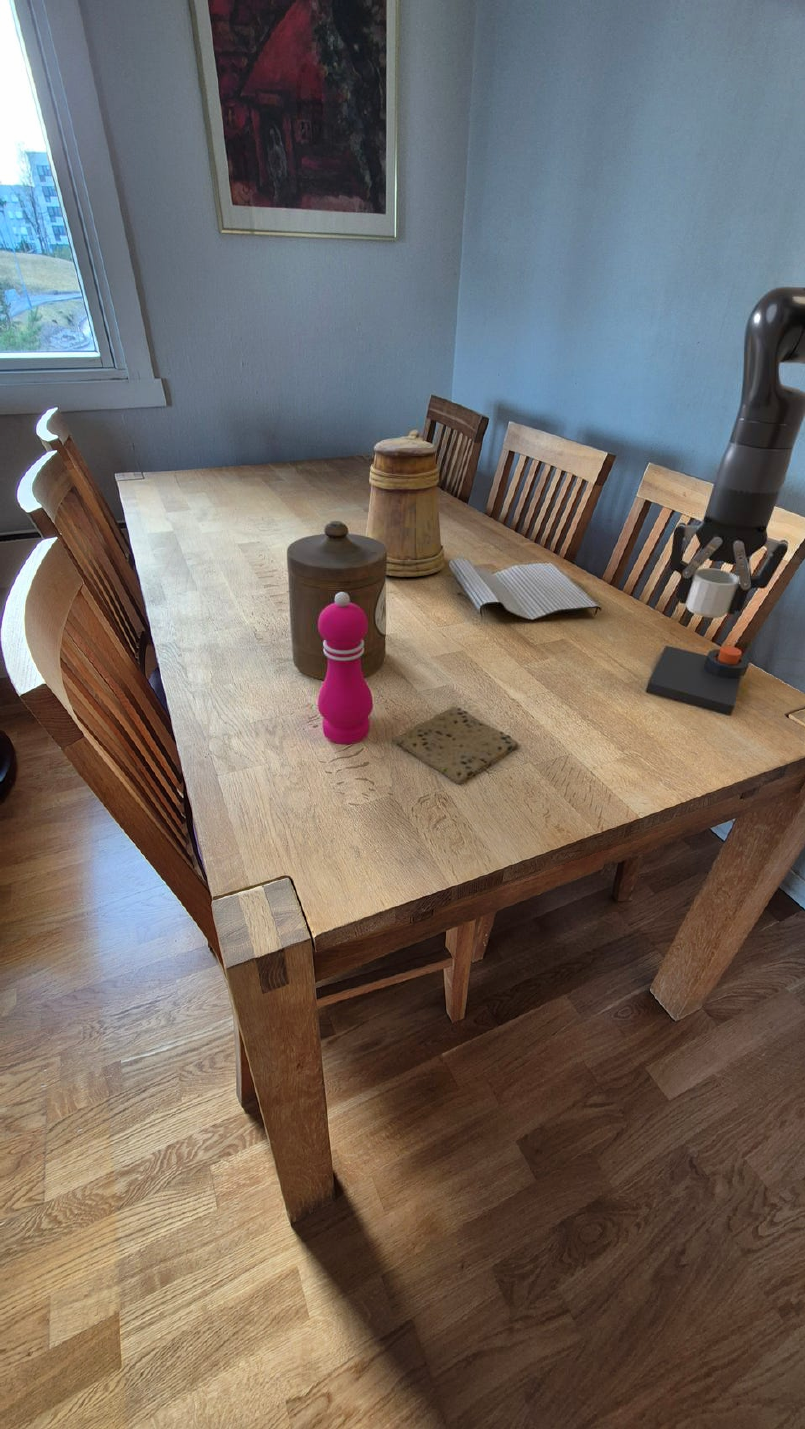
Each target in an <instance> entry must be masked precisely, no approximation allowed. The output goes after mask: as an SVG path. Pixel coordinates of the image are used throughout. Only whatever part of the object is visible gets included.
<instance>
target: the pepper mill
mask: <svg viewBox="0 0 805 1429" xmlns="http://www.w3.org/2000/svg"><path fill="white" fill-rule="evenodd" d="M349 602H350V598H349V596H348V594H347V593H345V592H339V593H338V594H337V595H336V596H335V603H333V604H331V605H328V606H327V607H326V608H325V609H324V610H323V611H322V612H321V614H320V616H319V620H318V629H319V632H320V635H321V636H322V638H323V639H325V640H324V642H323V646H324V650H323V651H324V654H325V655H326V656H327V657H328V670H327V674H326V678H325V680H323V682H322V685H321V687H320V690H319V694H318V698H317V708H318V713H319V714H320V716H321V717H322V718H323V719H322V732H323V735H324V737H325V738H327V739H328V740H329V741H331V742H333V743H336V744H340V745H348V744H354V743H355V744H356V743H357V742H360V741H362V740H364V739H365V738H366V737H368V735H369V733H370V717H369V716H370V715H371V713H372V712H373V708H374V702H373V700H374V699H373V694H372V691H371V688H370V687H369V685H368V683H367V681H366V679H365V677H363V674H362V671H361V663H360V657H361V655H362V654H363V652H364V647H363V646H364V641H363V638H364V636H365V635H366V633H367V629H368V622H367V617H366V615H365V613H364V611H363V610H362V609H361V608H360V607H359V606H357V605H355V604H353V603H349Z"/></svg>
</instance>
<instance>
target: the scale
mask: <svg viewBox="0 0 805 1429" xmlns="http://www.w3.org/2000/svg"><path fill="white" fill-rule="evenodd" d="M720 649H721V648H720ZM720 649H719V648H716V649H715V648H714V649H713V650H710V651H708V653H707V654H702V653H698V652H694V651H691V650H687V649H683V648H679V647H674V646H670V645H665V646H664V648H663V650H662V652H661V655H660V656H659V659H658V661H657V663H656V665H655V667H654V670H653V672H652V674H651V676H650V678H649V680H648V683H647V685H646V689H645V693H647V694H650V695H654V696H657V697H662V698H665V699H669V700H672V701H676V702H680V703H682V704H683V703H684V704H686V705H690V706H694V707H697V708H702V709H706V710H709V711H712V712H716V713H720V714H723V715H727V716H732V713H733V710H734V708H735V704H736V700H737V697H738V691H739V688H740V683H741V679H742V677H744V676H746V673H747V671H748V669H749V665H750V660H749V659H748V658H747V657H746V656H745V655H743V654H741V657H740V659H739V662H738V664H728V663H724V662H722V661H720V660H718V655H719V652H720Z"/></svg>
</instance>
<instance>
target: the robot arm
mask: <svg viewBox="0 0 805 1429" xmlns="http://www.w3.org/2000/svg"><path fill="white" fill-rule="evenodd" d="M781 364H802V365H803V364H805V287H804V286H779V287H775V288H772V289H771V290H769V291H767V293H765V294H764V295H763V296H762V297H761V298H760V299H759V300H758V301H757V303H756V304H755V305H754V307H753V308H752V311H751V312H750V314H749V316H748V319H747V322H746V325H745V330H744V339H743V366H742V370H743V371H742V384H741V395H740V401H739V402H740V403H739V408H738V411H737V414H736V417H735V420H734V424H733V427H732V429H731V430H732V431H731V434H730V437H729V440H728V444H727V446H726V448H725V450H724V452H723V455H722V457H721V460H720V463H719V467H718V469H717V472H716V476H715V480H714V483H713V487H712V490H711V493H710V497H709V499H708V503H707V507H706V510H705V513H704V516H703V519H702V521H700V523H699V524H698V525H695V524H694V525H692V524H691V525H690V524H686V523H685V522H679V523H678V524H677V525H676V527H675V529H674V530H673V534H672V544H671V554H670V561H669V562H670V563H669V569H670V571H672V572H677V573H678V574H679V575H680V581H679V584H678V588H677V591H676V594H675V595H676V599H679V603H680V604H683V605H685V600H686V597H687V594H688V591H689V587H690V584H691V581H692V577H693V574H694V572H695V571H696V570H698V569H700V567H702V565H703V564H704V563H705V562H706V561H707V560H708V561H710V562H723V563H725V564H727V565H733V566H735V565H736V571H737V575H738V577H739V580H740V583H739V586H738V588H737V591H736V594H735V597H734V600H733V602H732V605H731V608H730V611H729V613H728V615H733V616H735V613H736V612H740V611H741V610H742V609H743V608H744V605H745V602H746V599H747V596H748V594H749V591H750V590H752V589H761V590H763V589H765V588H767V587H768V585H769V583H770V582H771V580H772V579H773V577H774V575H775V573H776V571H777V570H778V568H779V566H780V565H781V563H782V561H783V559H784V558H785V556H786V554H787V552H788V549H789V542H788V541H787V540H785V539H781V540H777V539H774V538H771V537H768V532H767V531H768V530H767V529H768V526H769V523H770V520H771V518H772V515H773V512H774V509H775V507H776V504H777V502H778V498H779V496H780V492H781V490H782V487H783V484H784V483H785V482H786V477H787V474H788V470H789V467H790V464H791V458H792V454H793V450H794V446H795V445H796V442H797V441H796V440H797V438H798V436H799V432H800V430H801V427H802V424H803V422H804V419H805V391H803V390H801V389H798V388H796V387H793V386H788V385H785V384H783V383H782V382H781V377H780V365H781ZM694 535H695V536H696V539H697V540H698V543H699V545H700V549H699V551H698V552H697V553H696V554H695V555H694V557H692V559H691V560H690V561H689V562H686V561H684V560H683V559H684V552H685V551H684V550H685V543H688V542H689V541H690V540H691V538H692V536H694ZM763 547H764V548H766V552H765V555H766V558H768V560H767V561H766V562H765V565H764V567H763V568H762V570H761V572H760V574H759V575H753V573H752V566H751V565H752V564H751V558H750V557H751V556H752V555H753V554H755V553H756V552H758V551H759V550H760V549H762V548H763Z"/></svg>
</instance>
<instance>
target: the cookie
mask: <svg viewBox="0 0 805 1429" xmlns="http://www.w3.org/2000/svg"><path fill="white" fill-rule="evenodd" d="M393 742H394V743H396V744H397V745H398V746H400V747H402V748H404V749H405V750H406V751H408V752H410V753H411V754H413V755H414V756H416V757H417V758H418V759H419V760H421V761H422V762H423V763H425V764H426V765H429V766H430V767H432V768H434V769H436V770H437V771H439V772H440V773H441V774H443V775H445V776H446V777H447V778H449V779H450V781H452V782H454V783H456V785H461V784H463V783H464V782H465V781H467V780H469V779H470V778H471V777H474V776H476V775H477V774H478V773H479V772H481V771H483V770H484V769H485V768H487V767H490V766H491V765H492V764H494V763H495V762H496V761H497V760H499V759H500V758H502V757H504V756H505V755H508V754H509V753H510V752H512V751H515V749H517V748H518V747H519V742H518V741H517V740H515V739H514V738H512V736H510V735H509V734H506V733H504V731H501V730H498V728H495V727H493V726H491V725H489V724H487V723H485V722H483V721H481V720H479V719H478V718H477V717H475V716H473V715H472V714H471V713H469V712H468V711H466V710H462V709H461V708H460V707H456V706H451V707H449V708H448V709H445V710H444V711H441V712H440V713H438V714H436V715H434V716H433V717H430V718H428V719H427V720H425V721H423V722H421V723H419V724H418V725H415V726H413V727H411V729H408V730H406V731H404V732H402V733H401V734H399V735H397V736H395V737H393Z"/></svg>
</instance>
